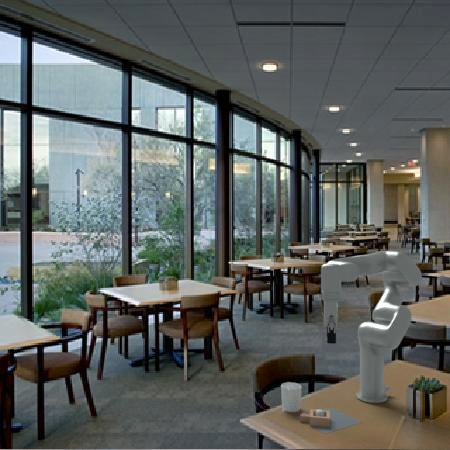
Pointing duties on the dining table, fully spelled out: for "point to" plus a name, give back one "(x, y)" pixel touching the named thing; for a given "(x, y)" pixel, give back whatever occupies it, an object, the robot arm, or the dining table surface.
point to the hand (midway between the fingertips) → (331, 339)
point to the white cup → (291, 397)
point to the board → (334, 420)
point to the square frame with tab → (316, 418)
